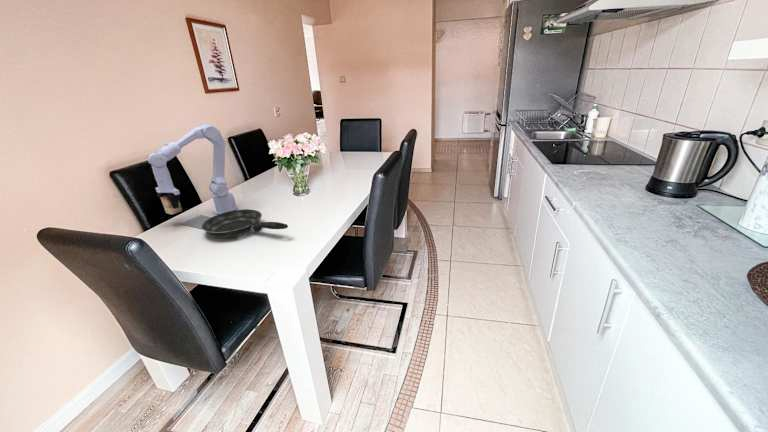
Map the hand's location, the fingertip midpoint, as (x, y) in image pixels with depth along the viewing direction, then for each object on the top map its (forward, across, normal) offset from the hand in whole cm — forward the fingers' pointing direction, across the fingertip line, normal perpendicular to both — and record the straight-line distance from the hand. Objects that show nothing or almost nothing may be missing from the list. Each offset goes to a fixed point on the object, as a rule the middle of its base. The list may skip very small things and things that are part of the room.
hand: (173, 207), depth 147 cm
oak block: (+2, 0, 0) cm, 2 cm away
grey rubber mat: (+9, +9, +6) cm, 14 cm away
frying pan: (+9, +38, +7) cm, 39 cm away
